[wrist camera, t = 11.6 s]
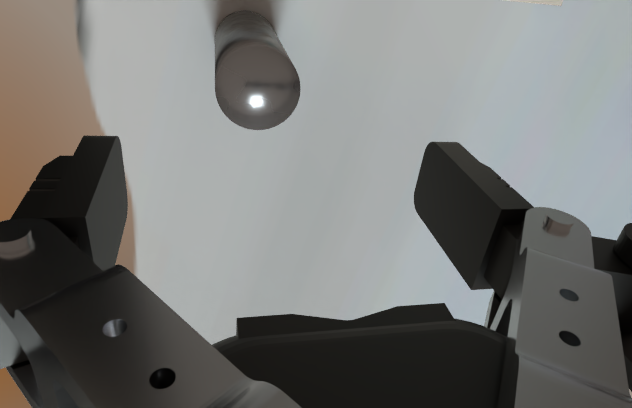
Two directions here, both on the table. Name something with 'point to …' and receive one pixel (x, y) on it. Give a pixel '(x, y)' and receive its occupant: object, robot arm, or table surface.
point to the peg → (253, 73)
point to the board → (541, 1)
